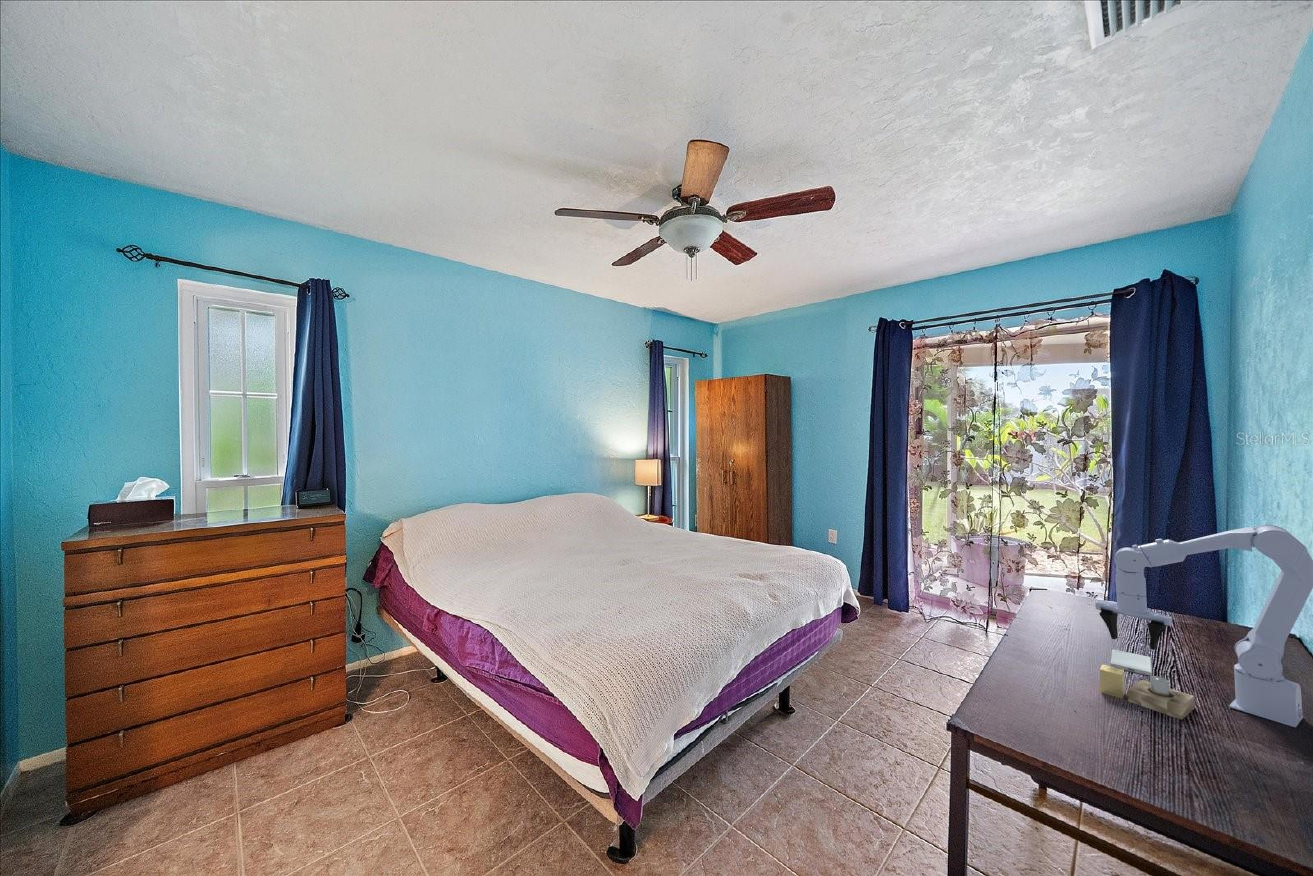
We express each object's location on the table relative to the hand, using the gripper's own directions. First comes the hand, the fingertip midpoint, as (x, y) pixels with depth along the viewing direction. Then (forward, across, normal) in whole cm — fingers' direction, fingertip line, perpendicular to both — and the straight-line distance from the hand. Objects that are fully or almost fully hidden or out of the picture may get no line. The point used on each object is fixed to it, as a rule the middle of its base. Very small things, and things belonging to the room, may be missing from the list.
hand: (1133, 643), depth 125 cm
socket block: (+10, -8, +10) cm, 16 cm away
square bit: (+10, 0, +13) cm, 16 cm away
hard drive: (+11, +4, -11) cm, 16 cm away
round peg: (+10, -8, +10) cm, 16 cm away
